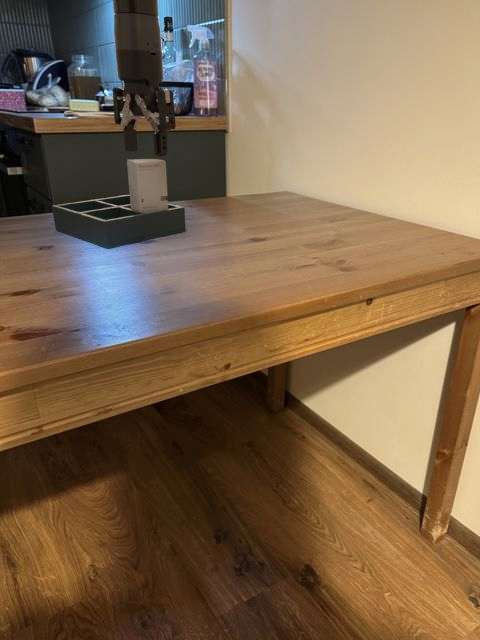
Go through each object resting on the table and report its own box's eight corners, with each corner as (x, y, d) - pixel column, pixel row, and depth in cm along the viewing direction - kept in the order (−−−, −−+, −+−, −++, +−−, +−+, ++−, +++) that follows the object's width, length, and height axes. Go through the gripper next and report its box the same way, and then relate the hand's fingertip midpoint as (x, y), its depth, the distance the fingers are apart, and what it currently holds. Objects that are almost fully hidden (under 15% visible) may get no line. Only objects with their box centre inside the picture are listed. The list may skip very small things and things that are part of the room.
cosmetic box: (140, 231, 92) (134, 162, 87) (131, 226, 96) (124, 159, 90) (171, 227, 96) (167, 160, 90) (160, 222, 99) (156, 157, 93)
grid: (55, 230, 95) (51, 205, 93) (132, 216, 106) (130, 194, 104) (107, 248, 85) (104, 221, 83) (185, 231, 96) (184, 207, 94)
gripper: (94, 47, 84) (105, 151, 91) (146, 45, 75) (154, 159, 83) (131, 51, 89) (139, 148, 96) (184, 50, 81) (188, 156, 88)
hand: (146, 153), depth 90 cm, fingers open, 8 cm apart
